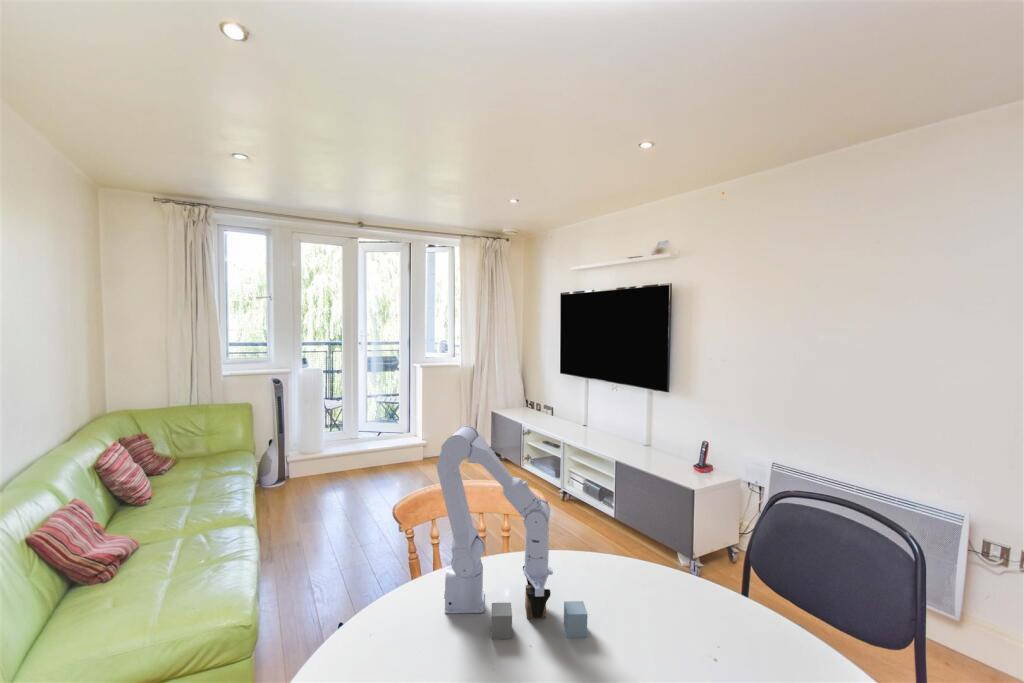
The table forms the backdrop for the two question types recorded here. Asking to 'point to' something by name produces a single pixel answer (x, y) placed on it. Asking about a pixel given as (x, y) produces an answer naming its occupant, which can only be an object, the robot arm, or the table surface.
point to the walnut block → (528, 606)
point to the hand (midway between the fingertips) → (535, 606)
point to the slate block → (575, 619)
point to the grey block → (501, 621)
